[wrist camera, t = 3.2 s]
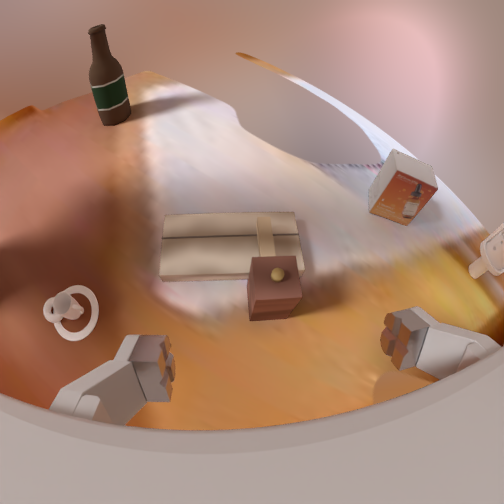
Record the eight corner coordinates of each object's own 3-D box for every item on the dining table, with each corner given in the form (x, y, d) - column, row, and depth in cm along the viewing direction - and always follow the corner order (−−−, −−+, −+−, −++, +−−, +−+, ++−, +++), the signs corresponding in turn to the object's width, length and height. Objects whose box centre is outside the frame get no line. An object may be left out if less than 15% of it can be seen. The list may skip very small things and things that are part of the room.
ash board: (301, 276, 35) (305, 269, 34) (162, 281, 33) (158, 275, 32) (291, 220, 40) (294, 211, 38) (167, 223, 38) (164, 214, 36)
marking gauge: (286, 318, 33) (304, 294, 25) (249, 321, 32) (256, 297, 24) (275, 238, 38) (287, 197, 30) (243, 238, 38) (247, 197, 30)
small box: (367, 213, 42) (395, 169, 33) (367, 189, 45) (392, 146, 35) (407, 227, 41) (439, 189, 32) (405, 204, 44) (432, 165, 35)
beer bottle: (138, 112, 52) (123, 19, 31) (112, 130, 48) (88, 32, 27) (119, 106, 53) (102, 21, 32) (95, 122, 50) (71, 35, 29)
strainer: (487, 278, 38) (536, 240, 25) (475, 295, 36) (531, 256, 23) (470, 250, 41) (516, 207, 28) (457, 264, 39) (509, 218, 26)
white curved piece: (43, 320, 29) (27, 311, 26) (68, 275, 33) (55, 262, 29) (83, 352, 28) (67, 347, 24) (110, 302, 32) (97, 291, 28)
